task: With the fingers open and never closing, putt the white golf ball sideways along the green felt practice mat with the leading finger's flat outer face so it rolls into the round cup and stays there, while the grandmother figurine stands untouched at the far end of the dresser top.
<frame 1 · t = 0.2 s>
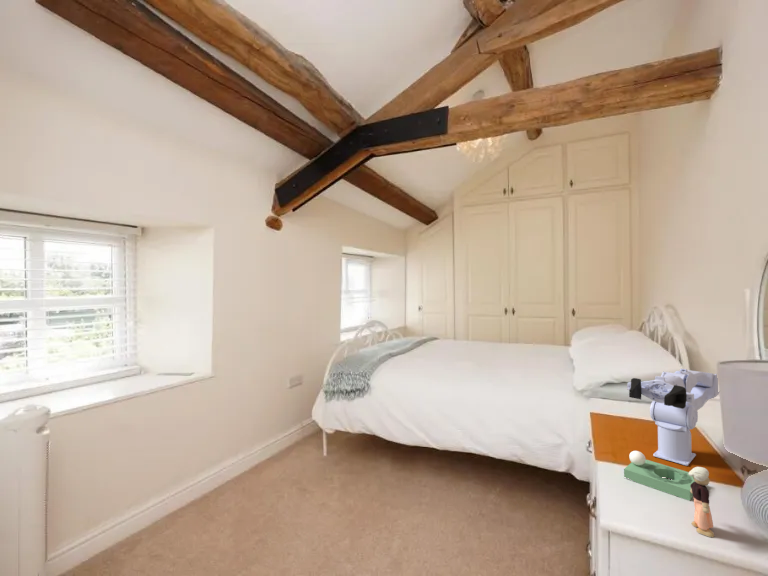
hand: (647, 397, 95), 21 cm above the nightstand, tool horizontal, fingers open, 7 cm apart
grandmother figurine: (701, 529, 77), on the nightstand
green: (658, 480, 95), on the nightstand
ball: (637, 458, 99), point 4 cm above the nightstand, touching green
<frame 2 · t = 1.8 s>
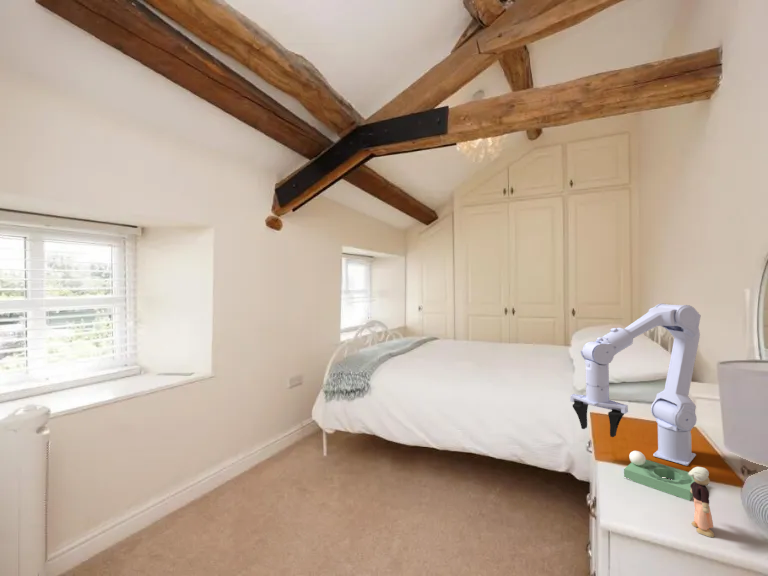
hand: (598, 431, 106), 8 cm above the nightstand, tool pointing down, fingers open, 7 cm apart
nothing on the nightstand moved.
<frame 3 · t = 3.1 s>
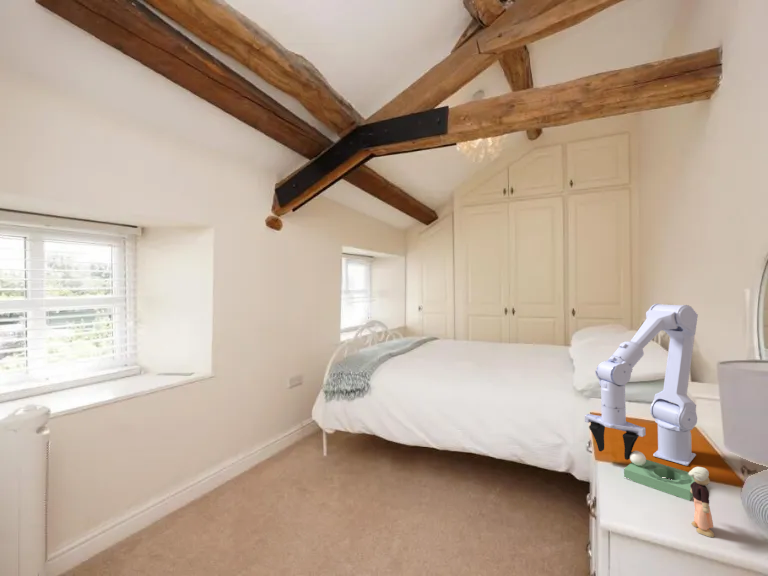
hand: (614, 454, 103), 3 cm above the nightstand, tool pointing down, fingers open, 6 cm apart
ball: (637, 458, 99), point 4 cm above the nightstand, touching green, gripper
everything else where it was.
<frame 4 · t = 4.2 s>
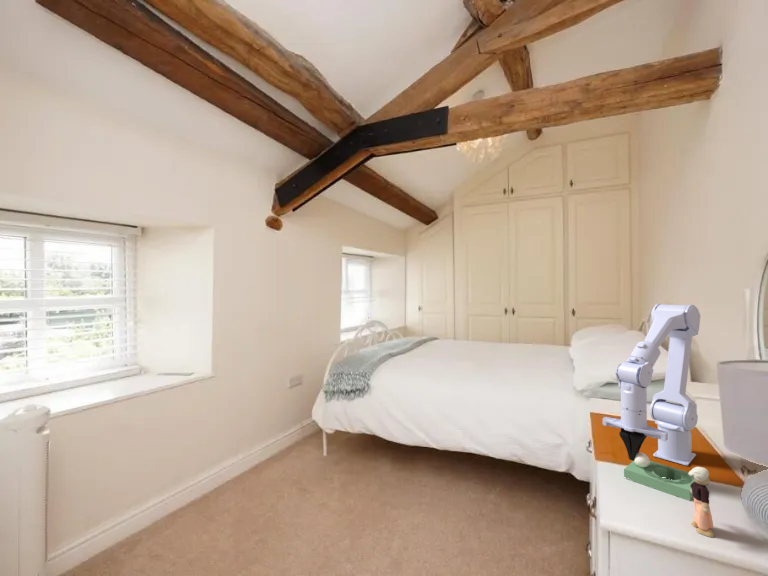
hand: (633, 459, 99), 4 cm above the nightstand, tool pointing down, fingers closed, pressing on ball
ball: (641, 459, 98), point 4 cm above the nightstand, tilted 33°, touching green, gripper
everything else where it was.
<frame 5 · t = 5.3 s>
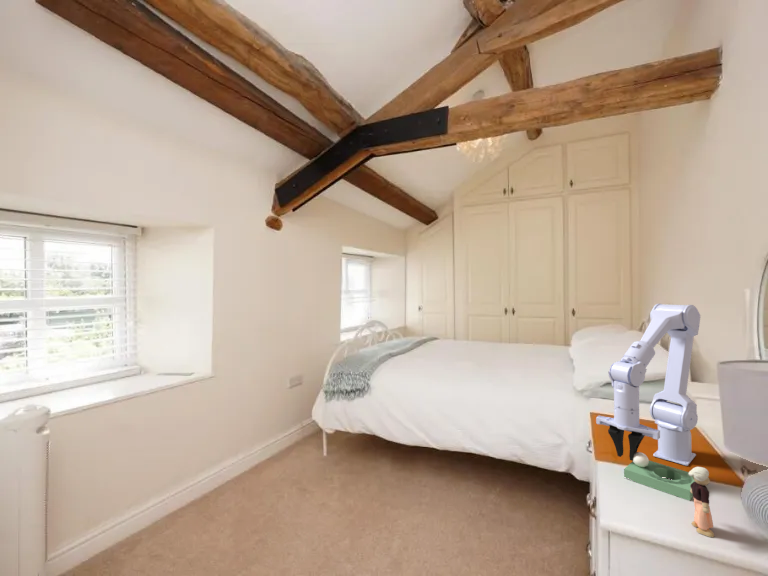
hand: (626, 457, 100), 4 cm above the nightstand, tool pointing down, fingers closed
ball: (640, 459, 98), point 4 cm above the nightstand, tilted 26°, touching green, gripper
everything else where it was.
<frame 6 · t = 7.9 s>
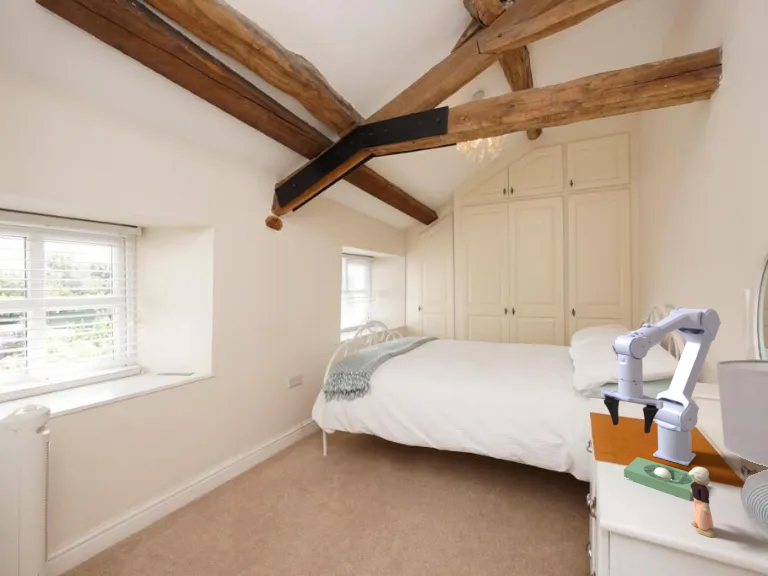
hand: (631, 428, 103), 10 cm above the nightstand, tool pointing down, fingers open, 7 cm apart
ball: (662, 475, 94), point 2 cm above the nightstand, tilted 145°
everything else where it was.
at the end: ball 1.0 cm from the target spot on the green, point 1.8 cm above the green's base; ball point 1.8 cm above the nightstand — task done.
